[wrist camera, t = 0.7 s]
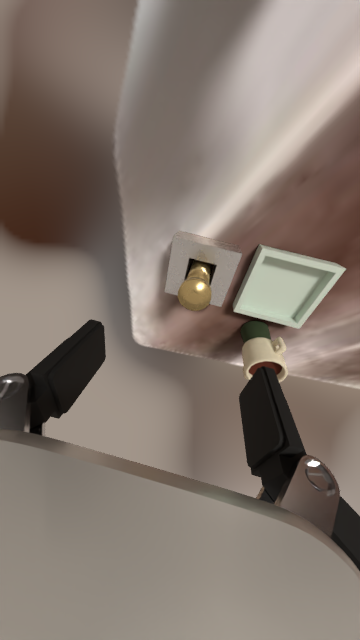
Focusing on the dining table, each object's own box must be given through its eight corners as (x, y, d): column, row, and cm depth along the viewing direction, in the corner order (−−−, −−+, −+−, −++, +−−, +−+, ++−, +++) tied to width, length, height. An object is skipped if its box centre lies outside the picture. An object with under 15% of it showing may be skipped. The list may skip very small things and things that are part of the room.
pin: (193, 249, 34) (181, 276, 23) (216, 255, 34) (215, 285, 22) (188, 272, 37) (175, 306, 25) (209, 277, 37) (205, 314, 25)
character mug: (251, 349, 46) (261, 394, 35) (227, 337, 45) (231, 380, 34) (283, 320, 39) (307, 365, 29) (256, 306, 38) (271, 346, 28)
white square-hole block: (179, 230, 32) (173, 236, 28) (238, 245, 32) (242, 253, 27) (171, 280, 38) (164, 292, 34) (220, 292, 38) (221, 306, 33)
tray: (259, 244, 31) (262, 248, 29) (336, 263, 31) (346, 268, 29) (232, 304, 39) (233, 311, 37) (294, 320, 39) (299, 328, 36)
